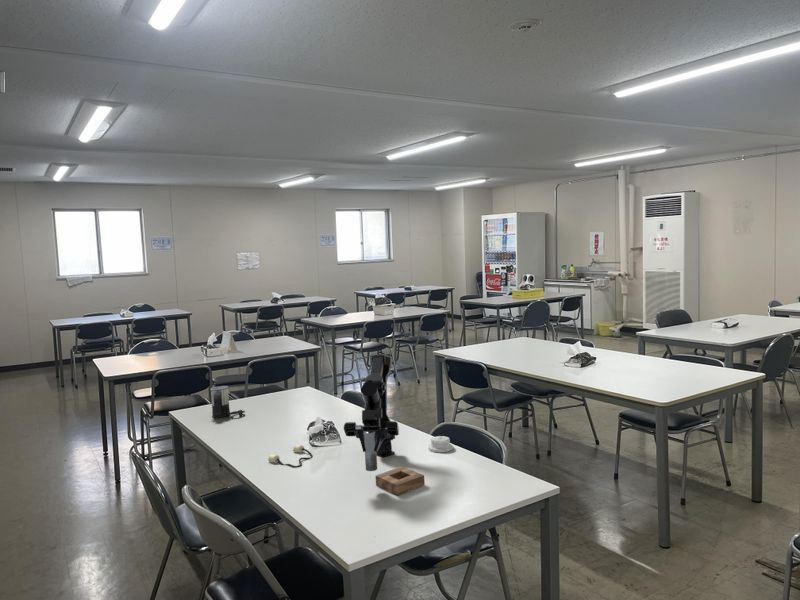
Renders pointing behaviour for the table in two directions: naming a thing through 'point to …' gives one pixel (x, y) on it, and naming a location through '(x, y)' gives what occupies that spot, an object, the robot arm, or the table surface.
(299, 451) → the cable
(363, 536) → the table surface
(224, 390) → the milk frother
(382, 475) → the walnut bore block
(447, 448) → the mechanical component
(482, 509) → the table surface
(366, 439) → the steel pin
